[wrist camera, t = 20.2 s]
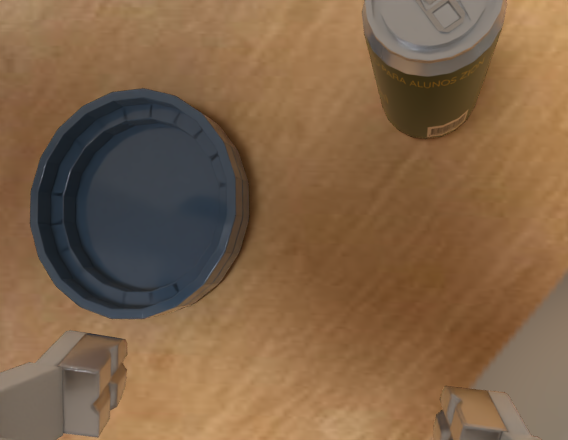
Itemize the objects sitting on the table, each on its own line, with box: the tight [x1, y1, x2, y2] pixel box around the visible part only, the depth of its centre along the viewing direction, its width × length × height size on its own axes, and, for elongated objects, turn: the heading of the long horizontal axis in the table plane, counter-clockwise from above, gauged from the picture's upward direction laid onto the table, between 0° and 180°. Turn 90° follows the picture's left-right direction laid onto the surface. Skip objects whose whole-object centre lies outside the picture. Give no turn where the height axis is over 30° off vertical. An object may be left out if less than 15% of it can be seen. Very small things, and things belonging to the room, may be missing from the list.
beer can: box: [362, 0, 507, 139], centre depth 25 cm, size 5×5×12 cm
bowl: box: [30, 88, 249, 319], centre depth 33 cm, size 14×14×3 cm
